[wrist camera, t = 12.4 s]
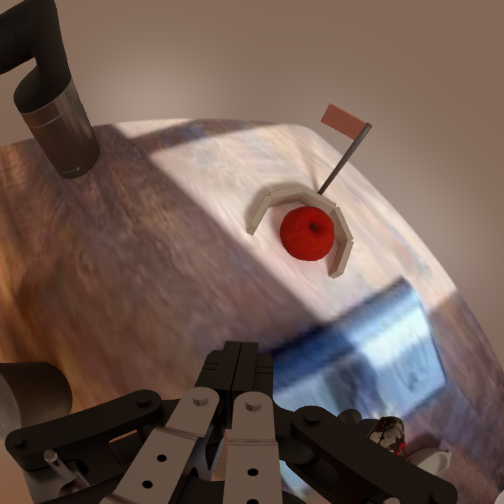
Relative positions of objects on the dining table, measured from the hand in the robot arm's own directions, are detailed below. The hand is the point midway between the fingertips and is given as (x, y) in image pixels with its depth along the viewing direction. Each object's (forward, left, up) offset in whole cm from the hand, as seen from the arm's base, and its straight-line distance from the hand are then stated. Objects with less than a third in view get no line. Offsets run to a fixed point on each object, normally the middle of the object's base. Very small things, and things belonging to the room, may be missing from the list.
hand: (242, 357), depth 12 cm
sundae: (+16, +17, -24) cm, 34 cm away
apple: (-13, +14, -24) cm, 31 cm away
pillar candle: (+6, -28, -24) cm, 38 cm away
